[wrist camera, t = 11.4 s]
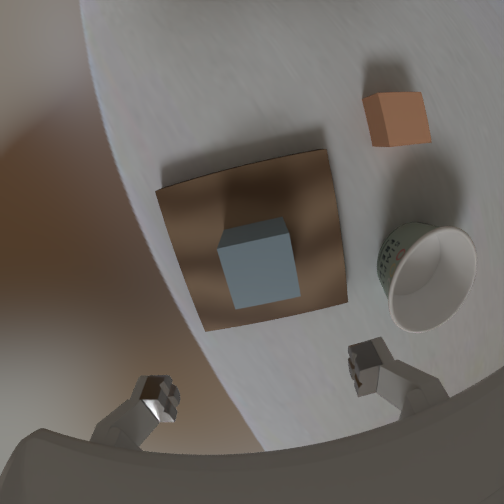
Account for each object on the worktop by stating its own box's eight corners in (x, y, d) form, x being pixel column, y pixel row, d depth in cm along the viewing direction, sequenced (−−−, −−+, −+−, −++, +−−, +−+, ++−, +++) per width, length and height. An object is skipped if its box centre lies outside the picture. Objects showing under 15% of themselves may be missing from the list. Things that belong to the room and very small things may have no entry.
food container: (373, 206, 26) (403, 223, 20) (453, 213, 26) (487, 229, 20) (357, 306, 31) (376, 339, 24) (433, 299, 30) (458, 326, 24)
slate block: (223, 229, 25) (216, 248, 20) (282, 216, 25) (289, 232, 20) (238, 281, 27) (235, 309, 22) (293, 270, 27) (300, 296, 22)
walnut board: (161, 188, 26) (155, 191, 24) (321, 149, 24) (326, 149, 22) (207, 321, 31) (205, 331, 29) (342, 293, 30) (348, 302, 28)
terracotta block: (361, 99, 22) (377, 92, 19) (401, 97, 22) (421, 92, 18) (372, 146, 24) (389, 146, 20) (411, 141, 24) (431, 142, 20)
